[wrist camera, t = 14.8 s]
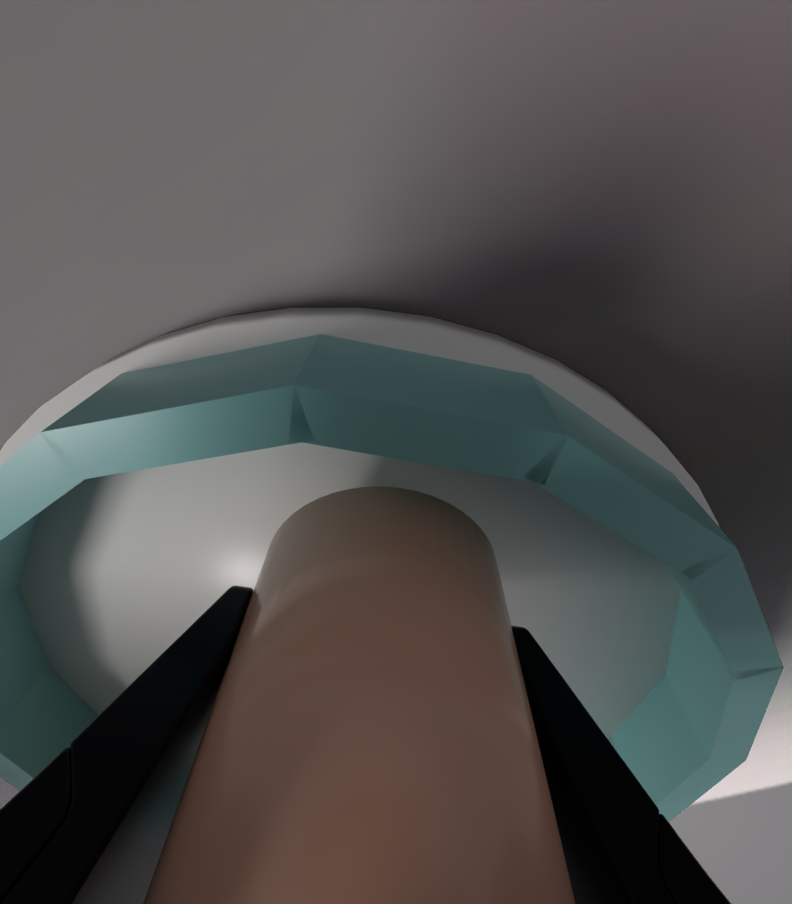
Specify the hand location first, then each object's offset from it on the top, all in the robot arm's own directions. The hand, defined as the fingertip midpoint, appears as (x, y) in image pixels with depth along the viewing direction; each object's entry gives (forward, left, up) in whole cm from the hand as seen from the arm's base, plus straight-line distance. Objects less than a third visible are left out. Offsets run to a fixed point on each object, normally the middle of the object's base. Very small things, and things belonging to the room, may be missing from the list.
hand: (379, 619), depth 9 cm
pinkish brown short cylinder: (0, 0, -1) cm, 1 cm away
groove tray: (-4, -5, -4) cm, 8 cm away
